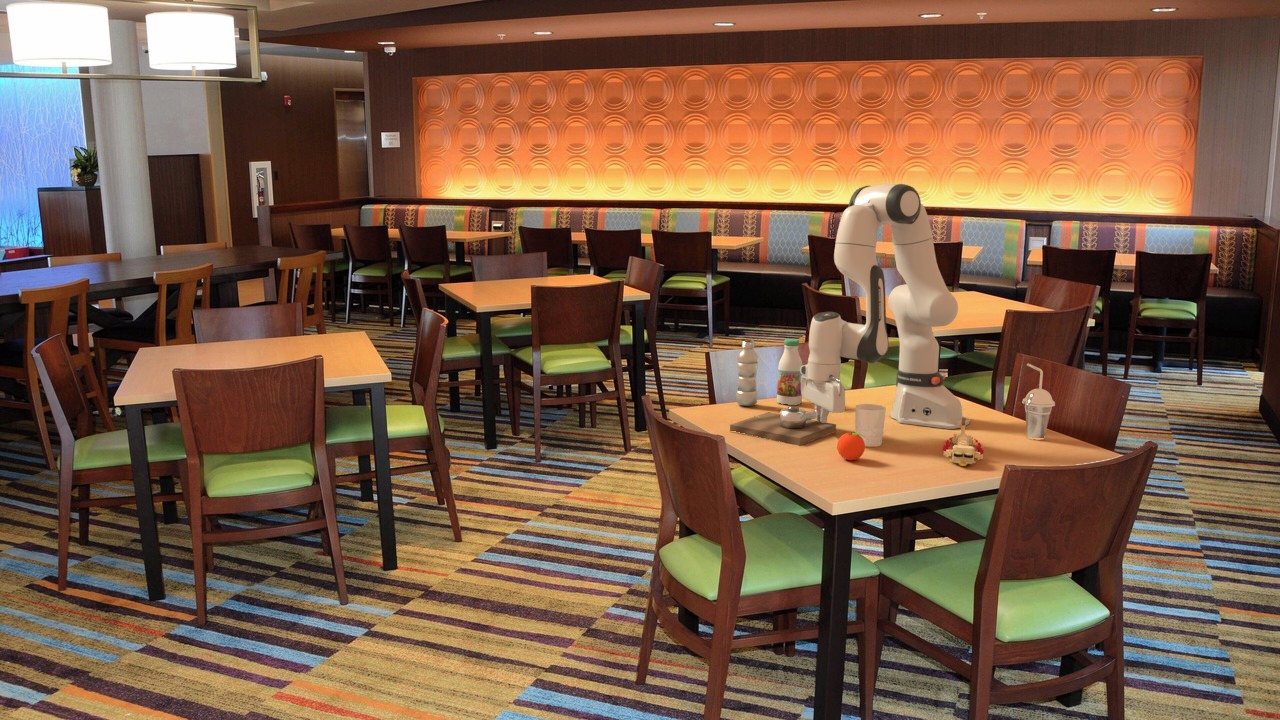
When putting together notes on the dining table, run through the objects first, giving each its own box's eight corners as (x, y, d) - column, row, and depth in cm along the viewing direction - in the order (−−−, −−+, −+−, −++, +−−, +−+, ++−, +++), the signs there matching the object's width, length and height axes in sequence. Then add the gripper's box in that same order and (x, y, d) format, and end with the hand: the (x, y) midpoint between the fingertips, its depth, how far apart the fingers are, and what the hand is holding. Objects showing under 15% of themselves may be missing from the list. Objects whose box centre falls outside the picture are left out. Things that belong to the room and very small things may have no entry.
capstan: (794, 429, 284) (794, 411, 283) (774, 424, 289) (775, 407, 288) (831, 420, 295) (831, 403, 294) (811, 416, 300) (812, 399, 299)
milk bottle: (774, 400, 330) (776, 337, 326) (798, 400, 331) (800, 337, 327) (780, 406, 322) (782, 341, 319) (804, 405, 323) (807, 341, 319)
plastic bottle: (758, 408, 319) (760, 343, 315) (736, 407, 319) (738, 343, 315) (756, 403, 325) (758, 339, 321) (734, 403, 325) (736, 339, 322)
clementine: (864, 456, 268) (866, 429, 266) (871, 463, 261) (872, 436, 260) (833, 455, 268) (835, 428, 266) (839, 463, 261) (840, 435, 259)
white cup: (859, 448, 275) (861, 411, 273) (849, 440, 283) (851, 404, 281) (888, 447, 277) (890, 410, 275) (877, 439, 284) (879, 403, 282)
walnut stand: (835, 431, 292) (836, 423, 292) (799, 445, 277) (799, 437, 277) (768, 418, 306) (768, 411, 305) (729, 431, 290) (730, 423, 290)
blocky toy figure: (942, 447, 283) (941, 464, 259) (944, 415, 282) (944, 429, 258) (980, 450, 280) (984, 468, 256) (983, 418, 279) (986, 433, 255)
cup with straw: (1024, 441, 284) (1030, 369, 280) (1014, 433, 292) (1020, 363, 289) (1056, 442, 283) (1063, 370, 280) (1045, 434, 292) (1051, 363, 288)
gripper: (852, 379, 277) (849, 430, 279) (818, 364, 296) (815, 412, 299) (830, 380, 275) (828, 431, 278) (797, 365, 294) (795, 413, 297)
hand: (821, 421), depth 288 cm, fingers closed
